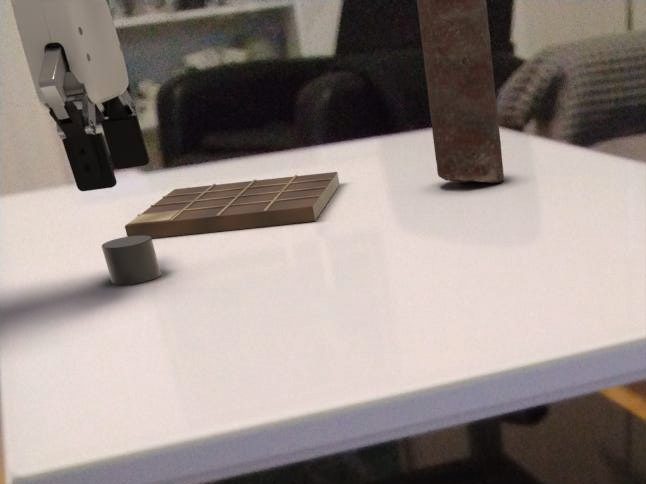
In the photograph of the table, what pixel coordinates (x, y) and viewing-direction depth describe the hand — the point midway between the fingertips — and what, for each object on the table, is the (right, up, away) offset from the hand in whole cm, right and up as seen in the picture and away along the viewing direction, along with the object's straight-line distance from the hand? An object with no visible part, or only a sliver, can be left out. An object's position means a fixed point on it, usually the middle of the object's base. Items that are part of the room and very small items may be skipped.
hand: (116, 177), depth 88 cm
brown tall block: (+30, +11, +27) cm, 42 cm away
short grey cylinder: (0, -7, +4) cm, 8 cm away
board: (+5, +8, +27) cm, 28 cm away
